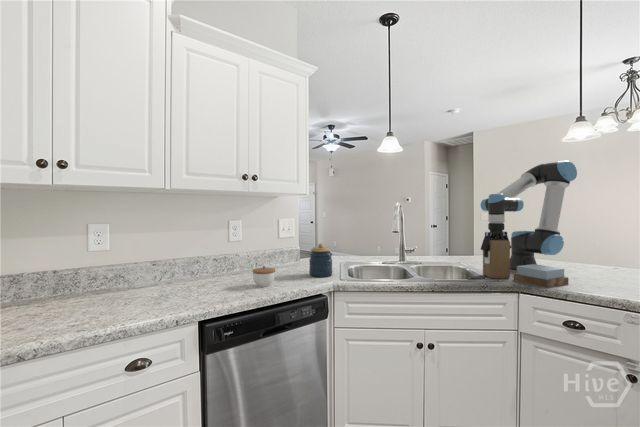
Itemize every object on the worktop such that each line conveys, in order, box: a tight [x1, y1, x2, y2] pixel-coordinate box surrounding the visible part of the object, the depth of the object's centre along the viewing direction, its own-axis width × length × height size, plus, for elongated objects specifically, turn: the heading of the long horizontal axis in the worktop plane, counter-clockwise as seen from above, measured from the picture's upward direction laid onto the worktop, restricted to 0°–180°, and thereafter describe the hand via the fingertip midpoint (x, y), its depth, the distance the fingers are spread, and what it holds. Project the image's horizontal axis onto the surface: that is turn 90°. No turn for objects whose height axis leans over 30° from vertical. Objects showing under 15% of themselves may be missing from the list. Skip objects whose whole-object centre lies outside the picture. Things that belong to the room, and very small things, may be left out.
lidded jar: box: [252, 265, 276, 288], centre depth 148 cm, size 11×11×9 cm
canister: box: [308, 243, 333, 278], centre depth 171 cm, size 13×13×18 cm
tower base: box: [513, 272, 569, 288], centre depth 152 cm, size 16×16×4 cm
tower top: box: [516, 263, 565, 280], centre depth 152 cm, size 14×14×4 cm
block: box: [482, 238, 511, 280], centre depth 164 cm, size 10×10×20 cm
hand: (496, 262), depth 164 cm, fingers closed on block, 12 cm apart
